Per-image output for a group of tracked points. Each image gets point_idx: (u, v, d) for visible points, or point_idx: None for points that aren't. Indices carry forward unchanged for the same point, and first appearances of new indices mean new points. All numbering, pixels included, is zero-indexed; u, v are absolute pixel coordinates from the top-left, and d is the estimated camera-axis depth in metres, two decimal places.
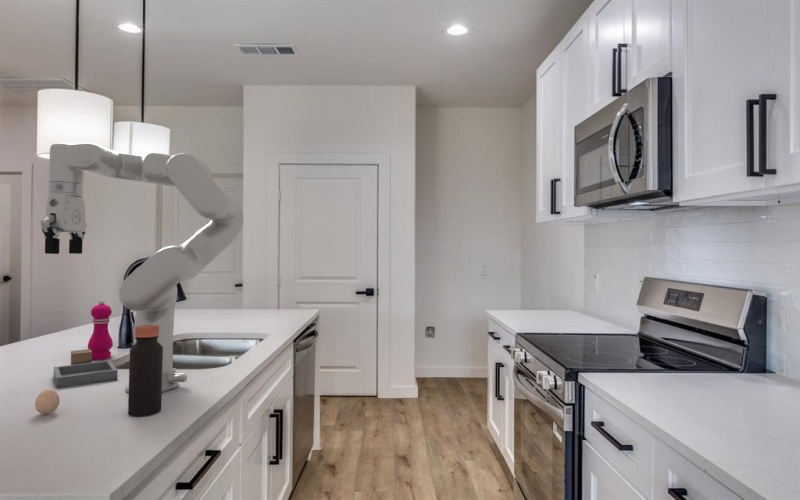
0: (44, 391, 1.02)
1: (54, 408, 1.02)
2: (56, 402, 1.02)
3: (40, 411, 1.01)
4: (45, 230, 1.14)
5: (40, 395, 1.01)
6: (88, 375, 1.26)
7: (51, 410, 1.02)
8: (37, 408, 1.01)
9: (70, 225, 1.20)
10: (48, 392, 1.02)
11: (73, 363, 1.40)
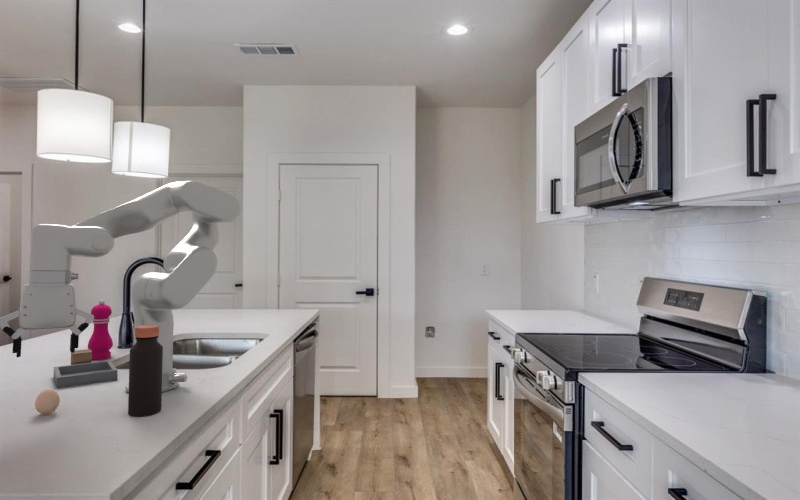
0: (44, 391, 1.02)
1: (54, 408, 1.02)
2: (56, 402, 1.02)
3: (40, 411, 1.01)
4: (88, 325, 1.07)
5: (40, 395, 1.01)
6: (88, 375, 1.26)
7: (51, 410, 1.02)
8: (37, 408, 1.01)
9: None
10: (48, 392, 1.02)
11: (73, 363, 1.40)
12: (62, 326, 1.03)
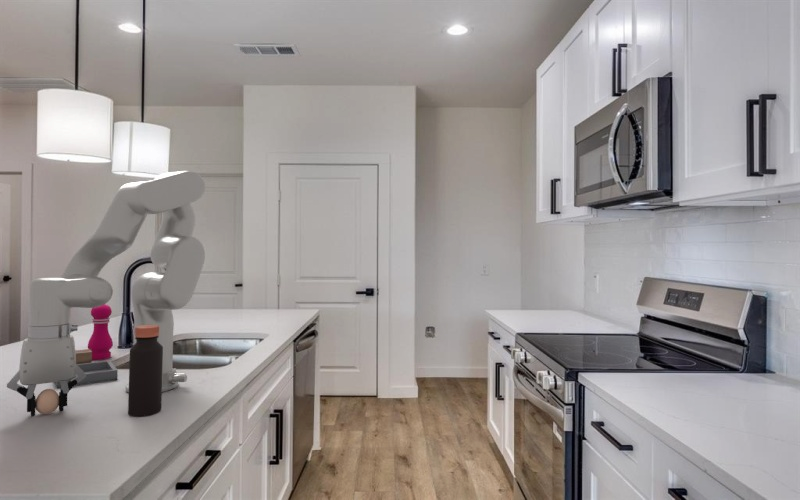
0: (44, 391, 1.02)
1: (54, 408, 1.02)
2: (56, 402, 1.02)
3: (41, 411, 1.01)
4: None
5: (40, 395, 1.01)
6: (88, 375, 1.26)
7: (51, 410, 1.02)
8: (37, 408, 1.01)
9: None
10: (48, 392, 1.02)
11: None
12: (62, 379, 1.03)
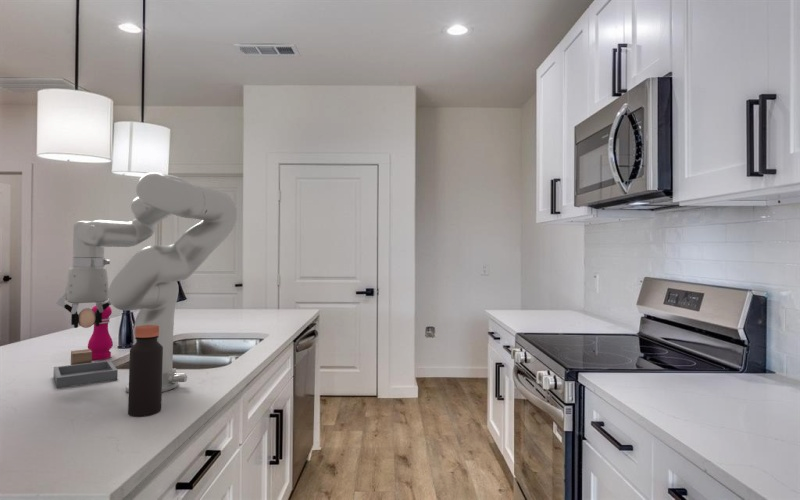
0: (84, 309, 1.30)
1: (92, 323, 1.31)
2: (93, 318, 1.31)
3: (82, 324, 1.29)
4: (108, 305, 1.34)
5: (81, 312, 1.30)
6: (88, 375, 1.26)
7: (90, 324, 1.30)
8: (79, 322, 1.29)
9: None
10: (87, 310, 1.30)
11: (73, 363, 1.40)
12: (98, 301, 1.31)
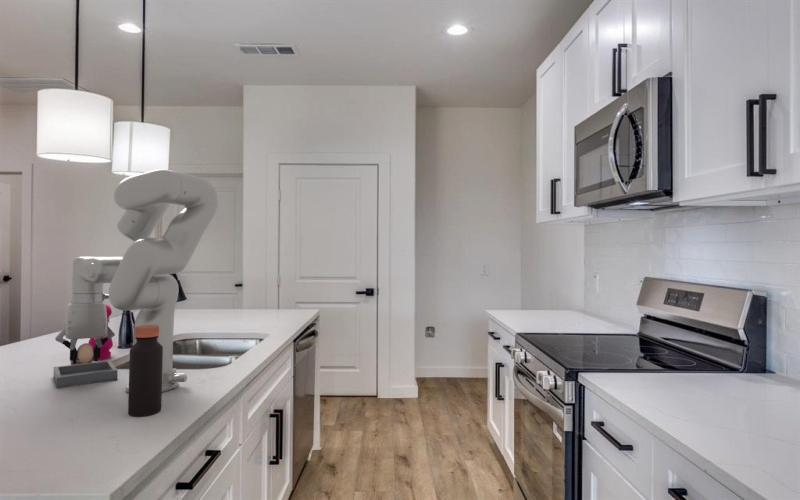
0: (83, 345, 1.30)
1: (90, 358, 1.31)
2: (92, 354, 1.31)
3: (80, 360, 1.29)
4: None
5: (80, 347, 1.30)
6: (88, 375, 1.26)
7: (88, 359, 1.30)
8: (78, 357, 1.29)
9: None
10: (86, 346, 1.30)
11: None
12: (97, 336, 1.31)
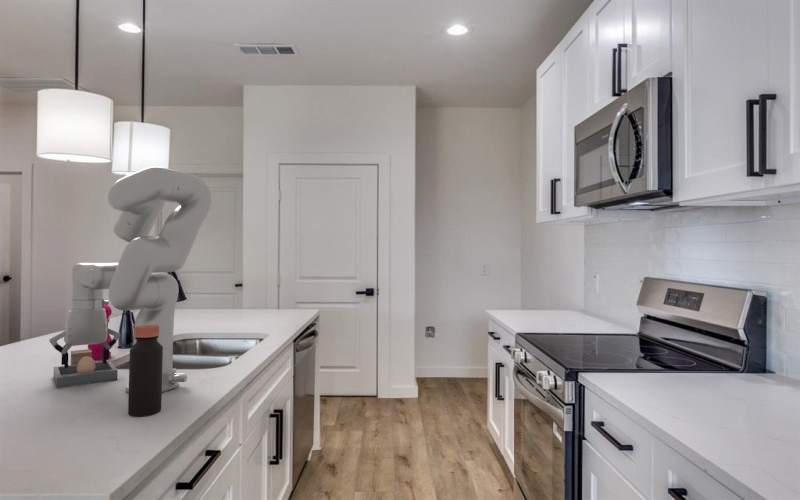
0: (84, 358, 1.30)
1: (91, 371, 1.31)
2: (93, 367, 1.31)
3: (81, 373, 1.29)
4: None
5: (81, 361, 1.30)
6: (88, 375, 1.26)
7: None
8: (78, 371, 1.29)
9: None
10: (87, 359, 1.30)
11: (73, 363, 1.40)
12: (97, 342, 1.31)
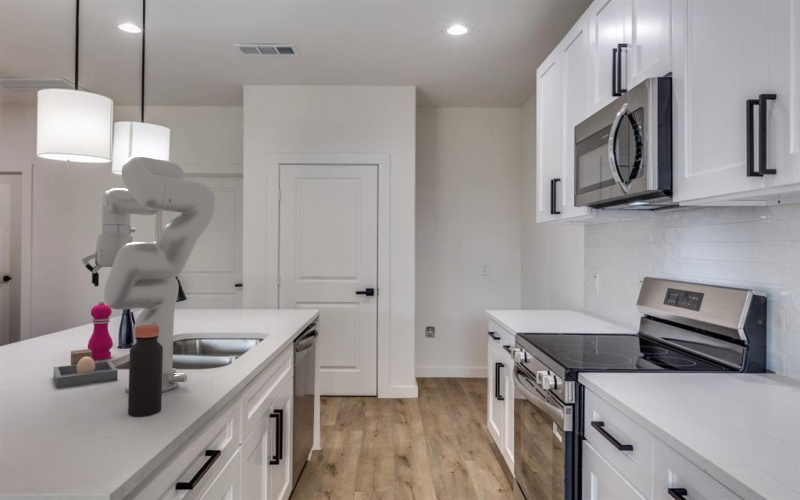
0: (83, 358, 1.30)
1: (91, 371, 1.31)
2: (92, 367, 1.31)
3: (81, 373, 1.29)
4: None
5: (80, 361, 1.30)
6: (88, 375, 1.26)
7: None
8: (78, 371, 1.29)
9: None
10: (86, 359, 1.30)
11: (73, 363, 1.40)
12: None
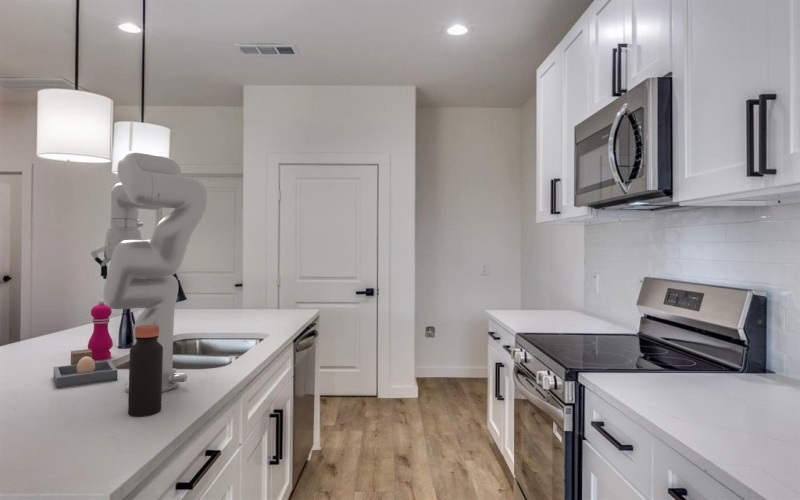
0: (83, 358, 1.30)
1: (91, 371, 1.31)
2: (92, 367, 1.31)
3: (81, 373, 1.29)
4: None
5: (80, 361, 1.30)
6: (88, 375, 1.26)
7: None
8: (78, 371, 1.29)
9: None
10: (86, 359, 1.30)
11: (73, 363, 1.40)
12: None
